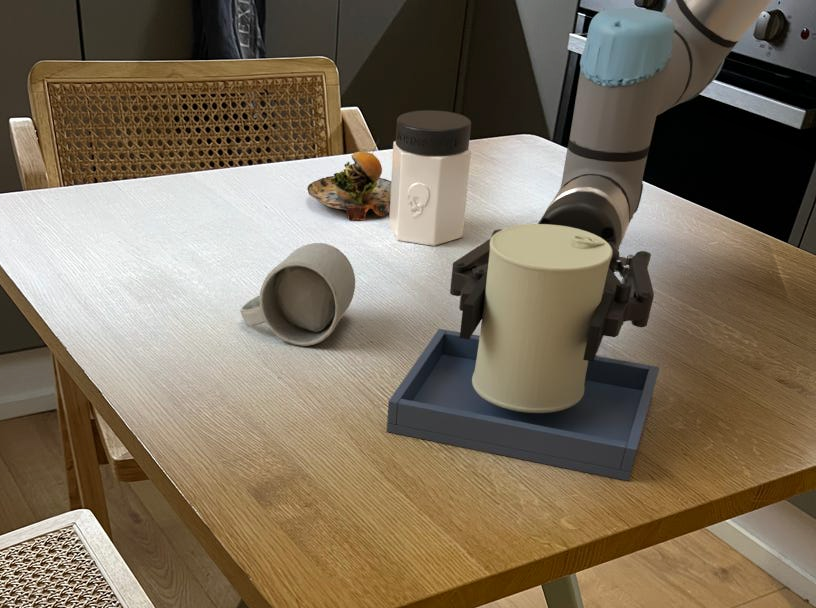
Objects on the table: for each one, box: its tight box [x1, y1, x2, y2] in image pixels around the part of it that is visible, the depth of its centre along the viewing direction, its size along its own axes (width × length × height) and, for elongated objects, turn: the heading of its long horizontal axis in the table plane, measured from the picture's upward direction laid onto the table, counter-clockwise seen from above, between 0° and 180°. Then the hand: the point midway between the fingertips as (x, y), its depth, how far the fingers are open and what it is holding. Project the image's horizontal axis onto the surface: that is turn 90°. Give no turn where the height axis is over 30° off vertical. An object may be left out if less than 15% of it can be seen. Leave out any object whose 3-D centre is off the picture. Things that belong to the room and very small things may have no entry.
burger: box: [306, 139, 391, 222], centre depth 118 cm, size 12×12×8 cm
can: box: [472, 223, 613, 413], centre depth 76 cm, size 9×9×12 cm
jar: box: [388, 110, 472, 247], centre depth 109 cm, size 9×8×12 cm
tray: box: [386, 328, 660, 482], centre depth 81 cm, size 20×15×3 cm
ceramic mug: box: [239, 242, 356, 347], centre depth 91 cm, size 11×8×8 cm
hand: (528, 332), depth 72 cm, fingers closed on can, 9 cm apart
